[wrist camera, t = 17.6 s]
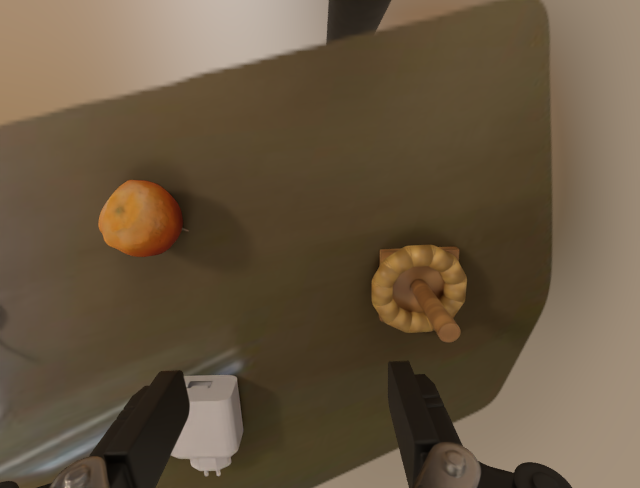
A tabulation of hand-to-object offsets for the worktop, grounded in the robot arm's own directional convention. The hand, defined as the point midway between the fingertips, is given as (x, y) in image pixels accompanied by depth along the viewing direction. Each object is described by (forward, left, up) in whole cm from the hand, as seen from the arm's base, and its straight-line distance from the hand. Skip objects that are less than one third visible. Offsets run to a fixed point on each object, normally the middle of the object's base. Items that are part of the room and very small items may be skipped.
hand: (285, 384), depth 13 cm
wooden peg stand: (+8, +13, -27) cm, 31 cm away
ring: (+8, +12, -25) cm, 29 cm away
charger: (+28, -15, -27) cm, 42 cm away
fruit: (-2, -17, -27) cm, 32 cm away
